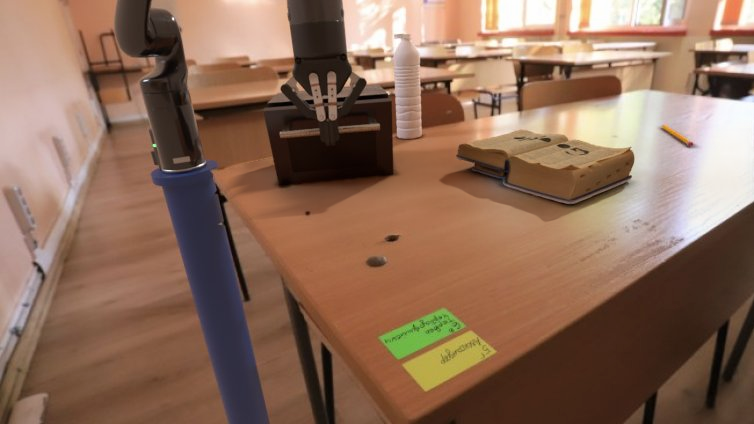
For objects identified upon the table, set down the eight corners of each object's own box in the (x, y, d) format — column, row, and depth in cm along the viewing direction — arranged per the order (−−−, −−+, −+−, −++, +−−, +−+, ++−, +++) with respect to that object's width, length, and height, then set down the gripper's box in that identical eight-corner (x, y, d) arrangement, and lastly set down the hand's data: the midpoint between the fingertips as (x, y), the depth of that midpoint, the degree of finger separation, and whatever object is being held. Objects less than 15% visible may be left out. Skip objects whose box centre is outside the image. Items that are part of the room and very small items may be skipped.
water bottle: (402, 133, 114) (398, 34, 104) (425, 134, 111) (423, 32, 101) (390, 140, 106) (384, 35, 97) (414, 141, 104) (410, 33, 94)
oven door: (396, 185, 77) (395, 109, 68) (276, 196, 75) (260, 120, 67) (392, 170, 81) (390, 97, 73) (279, 180, 80) (264, 107, 72)
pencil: (688, 146, 84) (689, 142, 84) (659, 126, 101) (660, 123, 101) (693, 146, 84) (693, 142, 84) (663, 126, 101) (664, 123, 101)
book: (632, 180, 68) (639, 145, 66) (570, 206, 60) (574, 167, 58) (512, 153, 88) (514, 125, 86) (453, 170, 80) (453, 139, 78)
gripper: (363, 18, 61) (371, 135, 68) (272, 24, 60) (289, 142, 67) (366, 15, 54) (375, 146, 61) (263, 22, 53) (284, 154, 60)
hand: (330, 144), depth 64 cm, fingers closed
